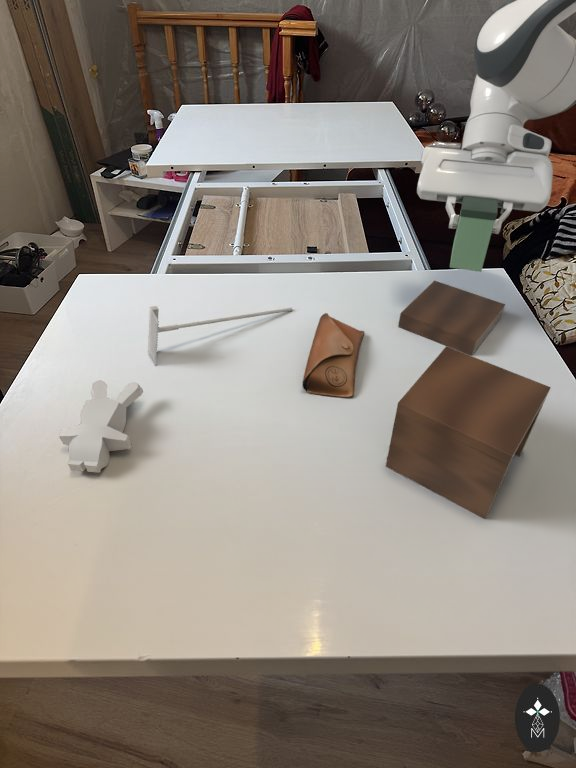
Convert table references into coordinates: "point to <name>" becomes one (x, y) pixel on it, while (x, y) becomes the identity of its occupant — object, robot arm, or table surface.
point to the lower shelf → (451, 317)
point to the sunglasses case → (332, 359)
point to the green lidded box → (473, 232)
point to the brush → (155, 329)
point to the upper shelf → (463, 428)
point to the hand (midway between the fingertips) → (474, 229)
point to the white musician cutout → (99, 428)
